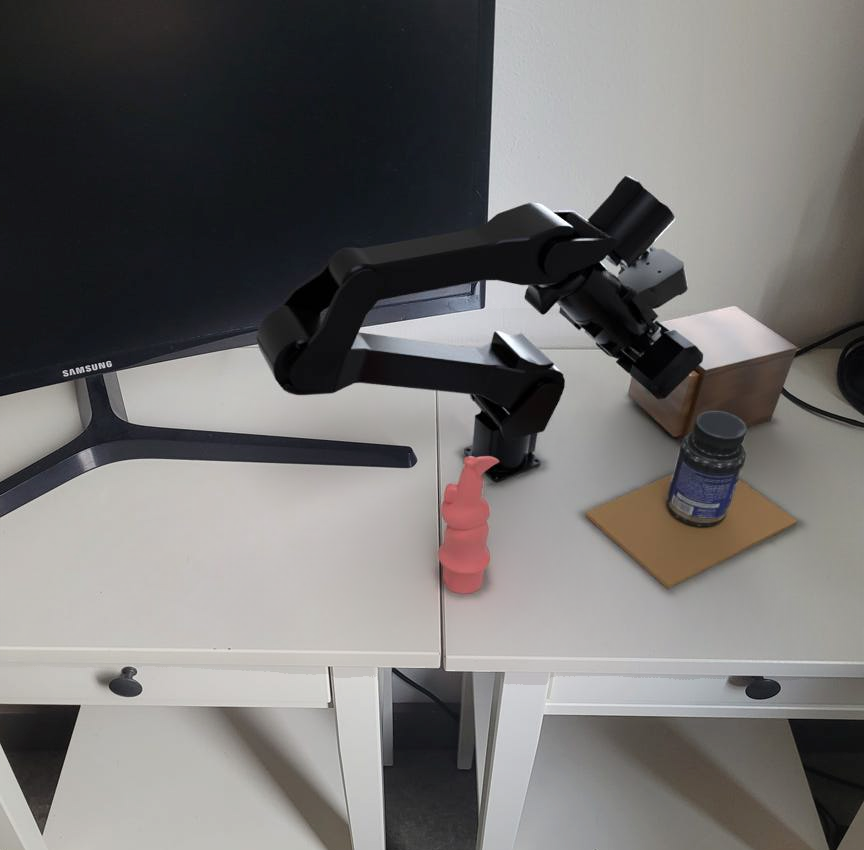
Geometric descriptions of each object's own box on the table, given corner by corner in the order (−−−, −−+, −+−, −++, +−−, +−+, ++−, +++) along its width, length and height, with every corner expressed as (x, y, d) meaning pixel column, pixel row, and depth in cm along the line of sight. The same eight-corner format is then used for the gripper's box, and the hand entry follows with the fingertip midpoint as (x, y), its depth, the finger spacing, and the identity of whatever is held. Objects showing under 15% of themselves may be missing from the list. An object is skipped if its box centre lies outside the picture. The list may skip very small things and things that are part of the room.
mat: (667, 589, 77) (669, 585, 77) (584, 515, 85) (585, 511, 85) (796, 524, 84) (798, 520, 84) (708, 461, 92) (709, 457, 92)
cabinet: (684, 444, 95) (705, 370, 88) (631, 396, 102) (647, 324, 96) (771, 420, 98) (798, 347, 92) (713, 375, 106) (734, 305, 99)
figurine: (472, 552, 81) (483, 431, 72) (499, 586, 78) (514, 464, 68) (427, 568, 80) (431, 447, 70) (452, 604, 76) (461, 482, 67)
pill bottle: (734, 528, 83) (766, 442, 76) (676, 531, 83) (702, 445, 76) (712, 488, 88) (739, 404, 81) (656, 491, 88) (679, 407, 80)
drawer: (665, 439, 94) (681, 378, 89) (618, 396, 101) (631, 337, 95) (754, 415, 97) (775, 355, 92) (703, 375, 104) (720, 317, 99)
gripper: (711, 273, 74) (772, 354, 84) (598, 201, 88) (663, 278, 98) (622, 364, 77) (691, 432, 87) (526, 281, 90) (595, 348, 101)
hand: (660, 367), depth 93 cm, fingers closed, pressing on drawer
